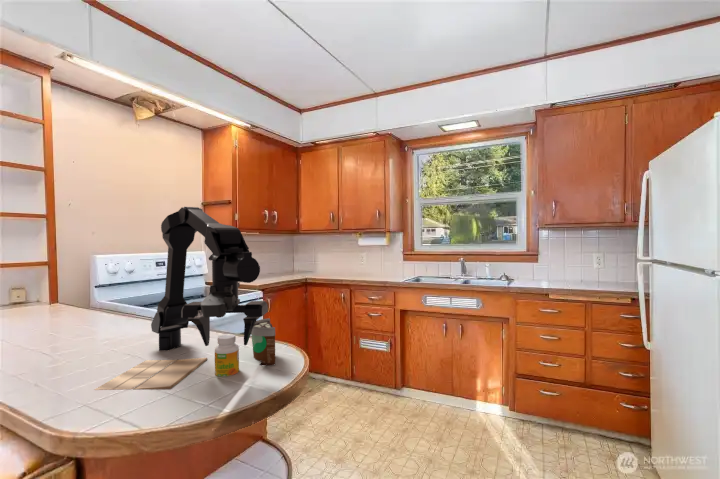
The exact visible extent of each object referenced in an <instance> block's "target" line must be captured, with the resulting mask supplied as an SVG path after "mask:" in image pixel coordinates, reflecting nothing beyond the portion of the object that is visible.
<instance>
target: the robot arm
mask: <svg viewBox="0 0 720 479" xmlns="http://www.w3.org/2000/svg"><path fill="white" fill-rule="evenodd" d="M160 230H161V231H160V232H161V233H162V235H161V236H162V239H163V241H164V243H165V244H166V246H167V249H168V250H167V262H166V272H165V273H166V276H165V288H164V290H165V291H164V296H163V298H161V300H160V301H159V302H158V304H157V308H156V313H155V314H154V316H153V319H152V321H151V323H150V326H151V327H150V328H151V332H153V333H155V334H158V351H170V350H173V349H177V348H180V347H181V346H182V329H188V328H189V327H188V326H189V322H191V323H193V324H194V326H196V328H197V330H198V332H199V334H200V336H201V338H202V341H203V343H204V346H205V347H207V346H209V345H210V340H211V339H210V338H211V336H210V335H211V332H210V331H211V328H210V326H211V321H210V320H211V318H218V319H220V318H223V317H225V316H226V314H244V315H245V317H244V318H243V319H242V320H243V323H244V324H243V325H244V327H243V328H244V329H243V331H244V332H243V346H247V345H248V343H249V340H250V337H251V336H252V335H251V332H252V329H253V327H254V324H255V322H256V321H257V320H260V318H262V317H263V316H265V315H266V314H267V313H268V312H269V309H268V308H269V306H268V303H267V302H266V301H265V300H251V301H249V302H247V303H246V304H241V299H239V287H240V286H241V283H245V284H251V283H253V282H255V281H256V280H257V279H258V277H259V275H260V273H261V266H260V264H259V262H258V261H257V259H256V258H254V257H253V254H252V251H250V249H249V248H250V247H249V246H248V245H247V243H246V241H245V238H244V236H243V234H242V231H241V230H240V229H239V228H238V227H236V226H233V225H229V224H225V223H224V224H223V223H220V222H218V220H216V219H214V218H213V217H212V216H210V215H209V214H207V212H205V211H203V209H202V208H200V207H198V206H184V207H183V206H182V207H180V208H179V210H177V211H175V212H173V213H170V214H168V215H167V216H166V217H165V218H164V220H163V221H162V222H161V225H160ZM197 232H198V233H199V234H200V235H202V236H203V237H204V241H203V242H204V244H205V245H206V247H207V249H209V251H211V253H212V254H210V255H209V257H208V260H209V261H211V271H212V272H211V275H212V276H211V278H212V279H211V280H212V285H210V286H209V293H208V295H207V296H206V297H205V298H204V299H203V300H202V301H193V302H189V303H188V302H187V301H186V299H185V298H184V292H185V291H184V290H185V278H186V267H187V266H186V265H187V254H188V253H187V252H188V249H189V248H190V246H191V245H192V243H194V241H195V236H196V233H197Z"/></svg>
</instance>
